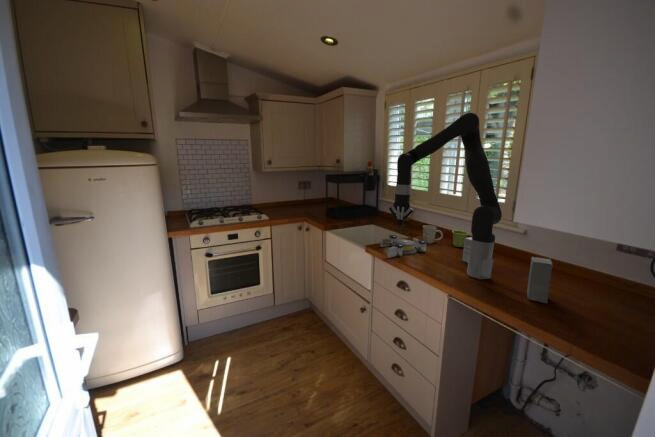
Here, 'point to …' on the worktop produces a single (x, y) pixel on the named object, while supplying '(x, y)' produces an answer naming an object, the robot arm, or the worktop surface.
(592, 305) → the worktop surface
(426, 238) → the mug
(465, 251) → the supplement box
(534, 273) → the skincare box
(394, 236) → the footscrew far
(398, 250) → the footscrew left
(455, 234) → the plant pot
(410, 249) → the level instrument
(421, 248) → the footscrew right
